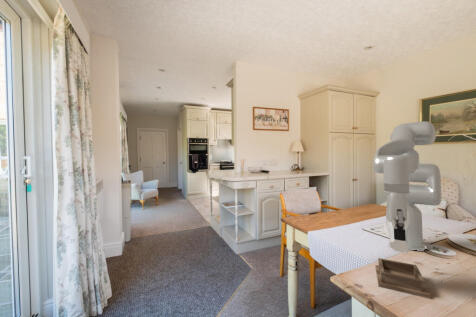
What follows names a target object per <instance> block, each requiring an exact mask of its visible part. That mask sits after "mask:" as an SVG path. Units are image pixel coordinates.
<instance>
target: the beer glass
mask: <svg viewBox="0 0 476 317" xmlns="http://www.w3.org/2000/svg"><path fill="white" fill-rule="evenodd" d="M388 211H389V210H388V207H387V206H386V210H385V212H386V213H385V219H386V220H385V221H386V227H387V232H388V237H389V239H388V240H389V241H388V245H387V246H388V248H389V249H390V250H392V251H394V252H400V253H408V252H410V250H409V247H408V242H407V238H408V233H409V227H410V217H409V210H408V209H407V221H405V222H404V225H405V235H406V241H401V240H395V239H394V228H395V225H394V220H393V219H392V220H390V219H389V212H388ZM395 218H396V220H398V215H397V216H396V217H395ZM404 219H405V218H404ZM396 223H398V222H396Z"/></svg>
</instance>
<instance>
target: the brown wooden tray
mask: <svg viewBox="0 0 476 317" xmlns="http://www.w3.org/2000/svg"><path fill="white" fill-rule="evenodd" d="M377 259H378V261H377V262H378V264H375V272H376V278H377V283H378V287H380V288H383V289H388V290H392V291H396V292H401V293H404V294H409V295H411V296H412V295H413V296H418V297H422V298H424V299H428V300H429V299H430V300H431V299H432V298H431V293H430V291H429V290H428V287H427V285H426V280H425V279H424V277H423V275H422V274H421V272H420V270H419V269H420V268H418V266H417V265H416V264H413V263H407V262H401V261H396V260H390V259H385V258H381V257H380V258H379V257H378V258H377Z"/></svg>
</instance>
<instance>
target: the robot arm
mask: <svg viewBox="0 0 476 317" xmlns="http://www.w3.org/2000/svg"><path fill="white" fill-rule="evenodd" d="M436 134H437V133H436V128H435V126H434V124H433V123H432V122H430V121H415V122H406V123H401V124H399V125H396V126H395V127H394V129H393V131H392V133H391V134H390V141H388V142H386V143H385V144H383V145H381V146H380V147H378V148H377V150H376V151H375V154H374V156H373V159H372V160H373V162H372V168H373V170H374V172H376V173H378V174H383V190H384V191H383V192H384V193H386V207H388V210H389V211H388V212H389V219H390V220H392V219H393V220H394V225H395V228H394V239H395V240H401V241H406V235H405V225H404V222H405V221H407V209H408V210H409V217H410V227H409V233H408V238H407V242H408V247H409V251H413V250H417V251H416V252H425V251H426V250H425V248H424V247H425V246H427V245H426V244H425V243H424V240H423V238H424V237H423V215H422V214H423V213H422V211H421V209H420V208H418V207H417V205H422V206H423V205H424V206H433V207H435V206H439V205H441V204H442V203H441V202H442V179H441V170H440V168H439V166H438V165H437V164H434V163H420V154H419V152H417V150H416V149H415V146H429V145H432V144H434V142H435V141H436V136H437V135H436ZM410 183H422V184H410ZM423 183H425V184H427V185H424V184H423ZM397 215H398V220H396V218H395V217H396V216H397ZM404 218H405V219H404ZM396 222H398V223H396ZM424 250H425V251H424Z"/></svg>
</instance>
